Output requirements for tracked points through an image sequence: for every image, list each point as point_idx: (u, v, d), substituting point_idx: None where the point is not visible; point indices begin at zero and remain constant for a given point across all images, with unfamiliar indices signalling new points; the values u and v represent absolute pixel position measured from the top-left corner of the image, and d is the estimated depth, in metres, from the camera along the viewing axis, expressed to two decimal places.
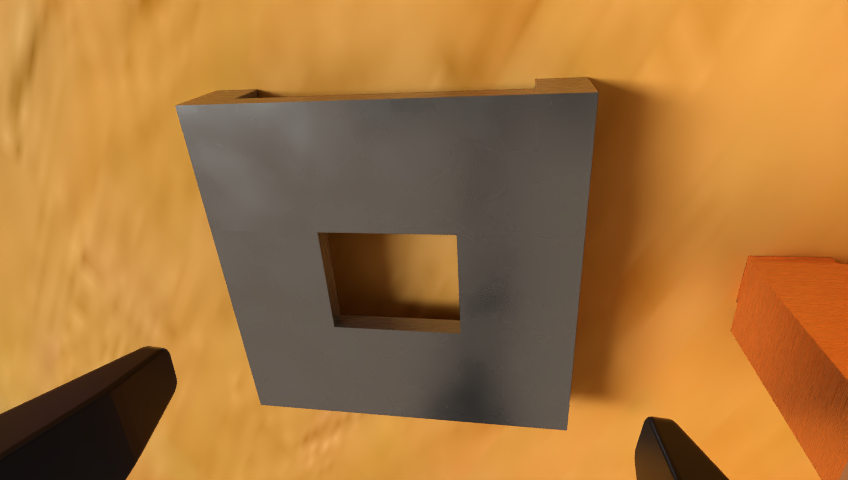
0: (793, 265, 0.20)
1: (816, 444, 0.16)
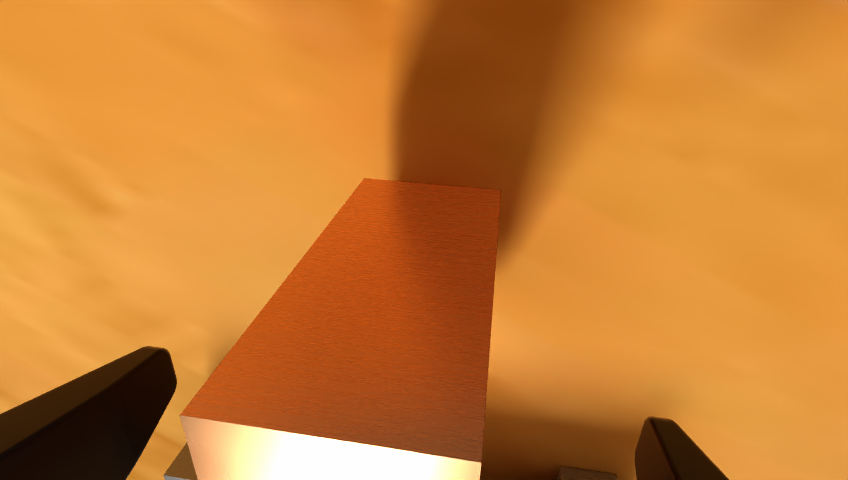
0: None
1: None
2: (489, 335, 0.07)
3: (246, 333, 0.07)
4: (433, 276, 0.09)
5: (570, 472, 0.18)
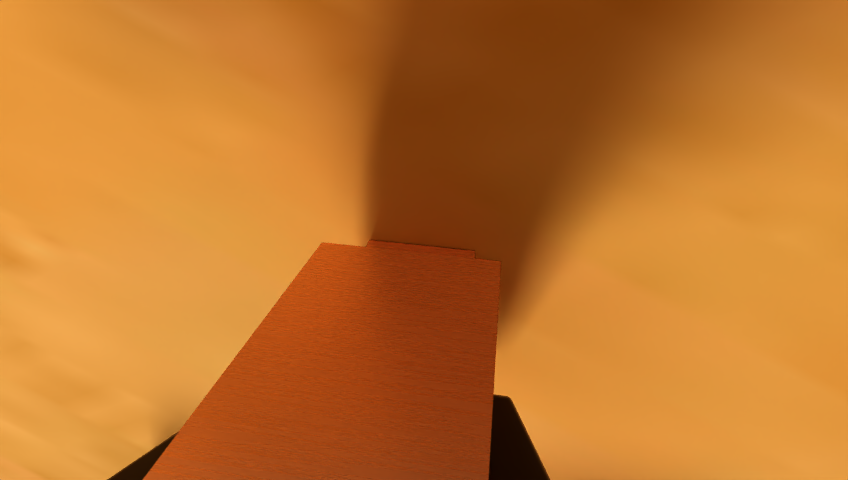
0: None
1: None
2: None
3: None
4: (395, 440, 0.06)
5: None
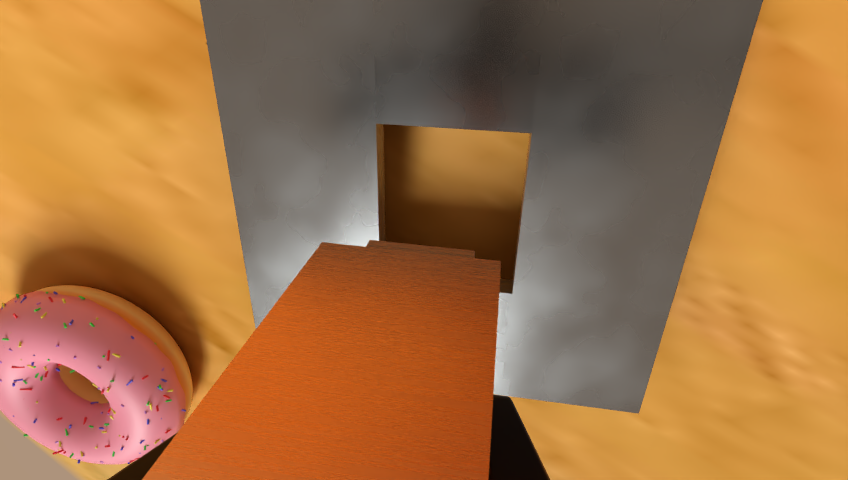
0: None
1: None
2: None
3: None
4: (396, 440, 0.06)
5: None
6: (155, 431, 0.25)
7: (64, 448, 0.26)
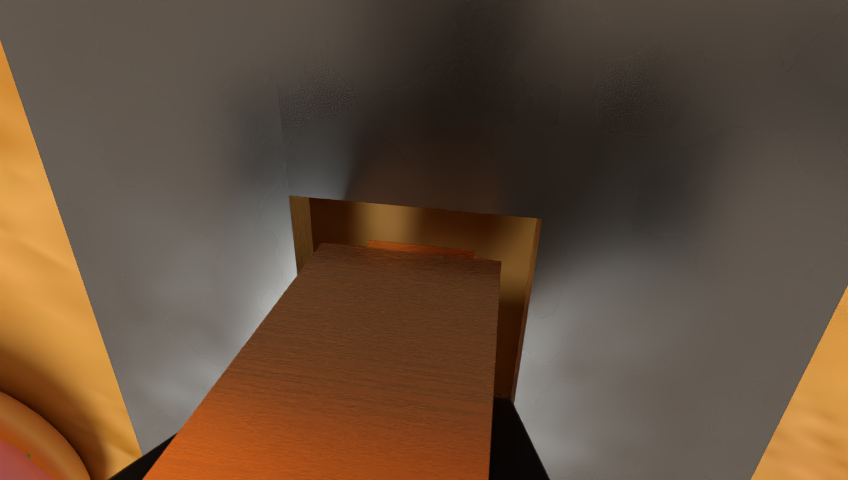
0: None
1: None
2: None
3: None
4: (395, 440, 0.06)
5: None
6: None
7: None
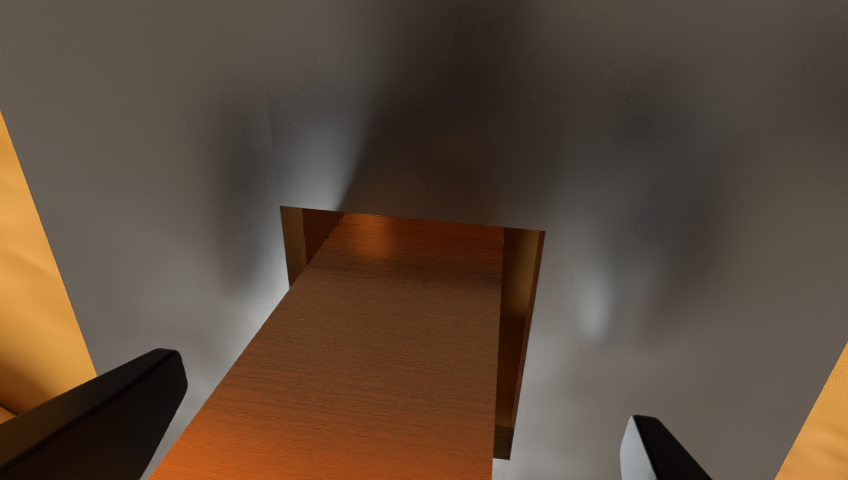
0: None
1: None
2: (491, 452, 0.05)
3: (172, 450, 0.05)
4: (421, 354, 0.07)
5: None
6: None
7: None
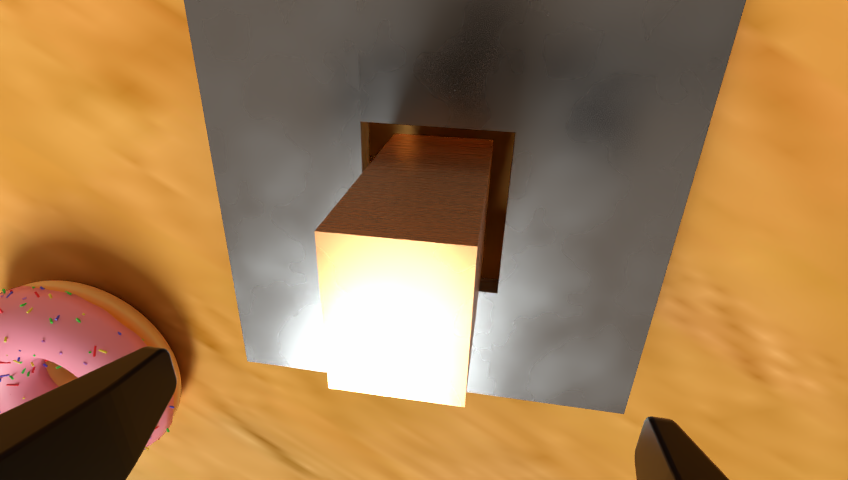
0: None
1: None
2: (482, 204, 0.12)
3: (338, 204, 0.12)
4: (447, 181, 0.14)
5: None
6: None
7: None
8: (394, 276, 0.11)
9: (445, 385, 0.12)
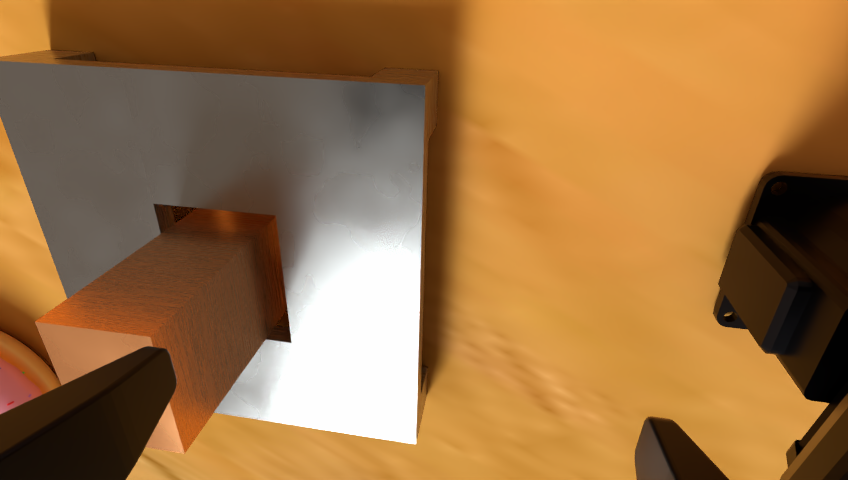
0: None
1: None
2: (195, 292, 0.15)
3: (80, 291, 0.15)
4: (192, 265, 0.17)
5: (393, 69, 0.18)
6: None
7: None
8: (101, 356, 0.14)
9: (164, 436, 0.15)
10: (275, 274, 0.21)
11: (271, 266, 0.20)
